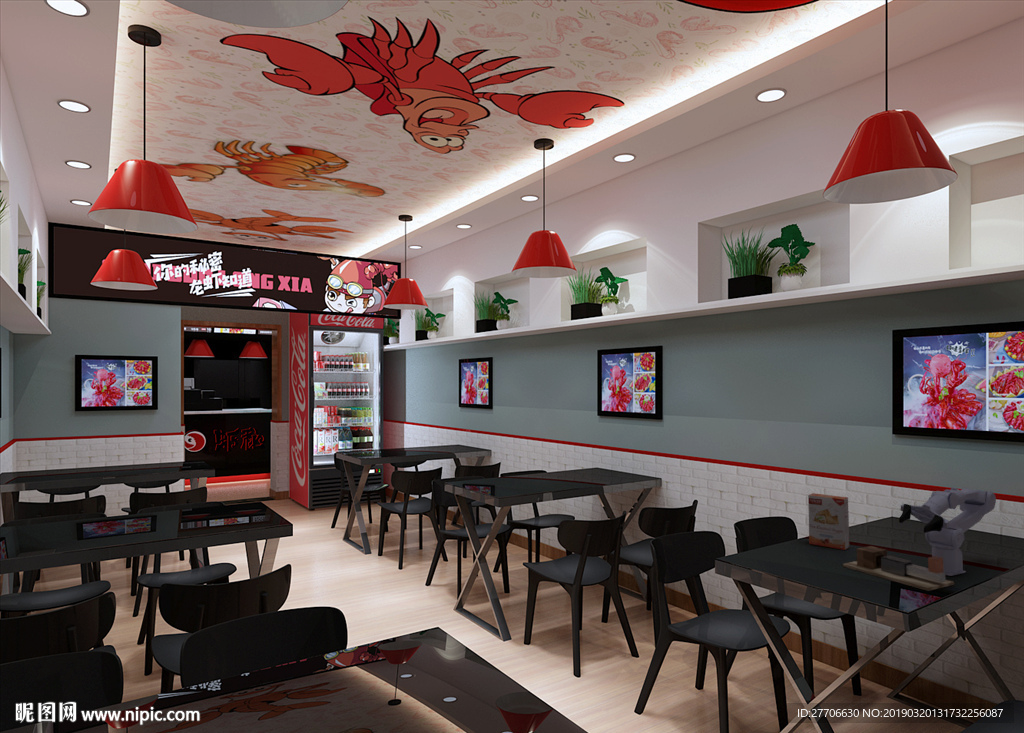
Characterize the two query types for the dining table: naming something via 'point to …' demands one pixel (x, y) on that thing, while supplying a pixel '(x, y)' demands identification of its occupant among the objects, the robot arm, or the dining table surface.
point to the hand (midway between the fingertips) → (912, 525)
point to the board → (901, 578)
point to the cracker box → (828, 521)
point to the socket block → (870, 557)
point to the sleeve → (894, 565)
